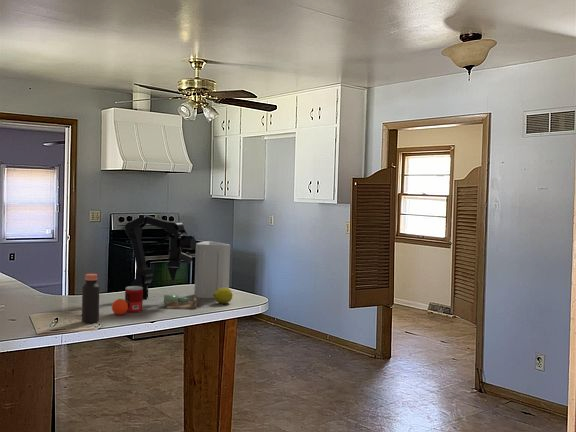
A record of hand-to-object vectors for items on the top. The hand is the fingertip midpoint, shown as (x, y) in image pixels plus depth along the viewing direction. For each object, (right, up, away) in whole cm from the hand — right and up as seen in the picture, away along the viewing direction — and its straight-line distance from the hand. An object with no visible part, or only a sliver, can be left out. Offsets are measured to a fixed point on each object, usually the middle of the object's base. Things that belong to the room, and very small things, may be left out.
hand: (173, 278), depth 296 cm
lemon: (+24, -13, +3) cm, 28 cm away
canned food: (-14, -13, -22) cm, 29 cm away
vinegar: (-26, -14, -46) cm, 54 cm away
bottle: (-3, -9, -9) cm, 13 cm away
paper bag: (+14, -12, +21) cm, 28 cm away
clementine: (-18, -13, -30) cm, 37 cm away
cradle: (+5, -13, -7) cm, 15 cm away
